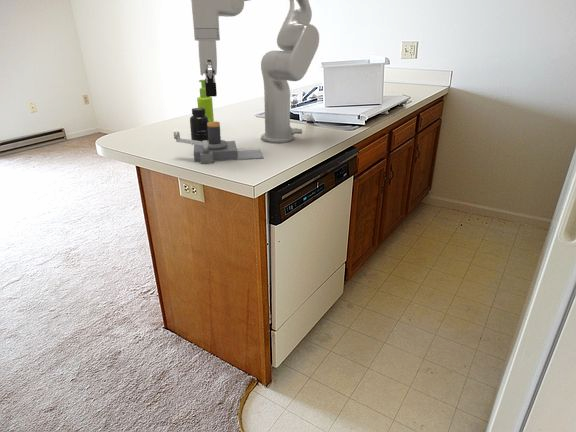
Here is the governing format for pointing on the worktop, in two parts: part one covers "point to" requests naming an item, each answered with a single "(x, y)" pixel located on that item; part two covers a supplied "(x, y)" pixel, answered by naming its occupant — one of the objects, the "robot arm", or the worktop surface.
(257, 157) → the mat
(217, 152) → the grey flat block
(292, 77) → the robot arm
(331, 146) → the worktop surface
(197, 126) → the supplement bottle
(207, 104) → the soap dispenser
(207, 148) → the clip
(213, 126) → the plug
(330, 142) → the worktop surface
